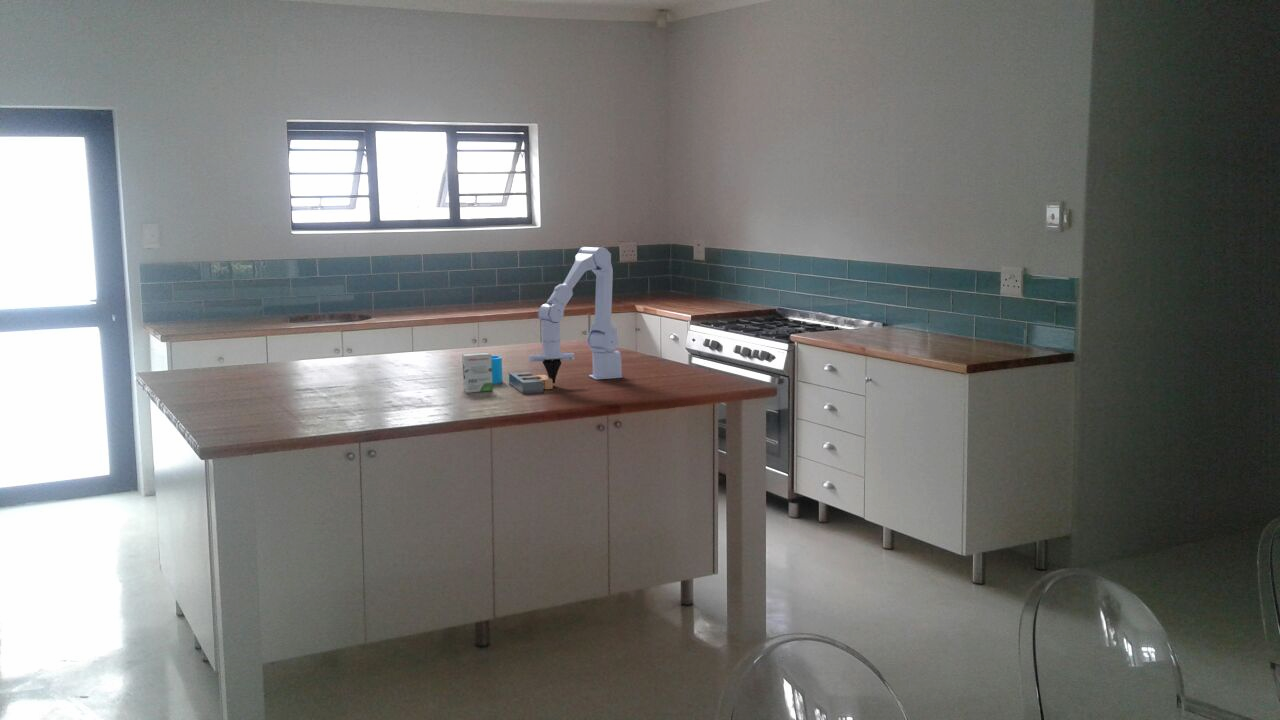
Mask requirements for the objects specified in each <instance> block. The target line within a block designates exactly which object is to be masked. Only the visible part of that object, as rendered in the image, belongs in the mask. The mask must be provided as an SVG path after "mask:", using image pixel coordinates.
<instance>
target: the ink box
mask: <svg viewBox="0 0 1280 720" xmlns="http://www.w3.org/2000/svg"><path fill="white" fill-rule="evenodd" d="M491 356H492V354H490V353H488V352H482V353H464V354H461V358H462V359H461V360H462V363H461V364H462V381H463V384H462V385H463V392H465V393H467V394H468V393H479V392H490V391H493V390H494V386H493V385H494V384H493V382H492V361H491Z"/></svg>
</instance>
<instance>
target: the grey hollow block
mask: <svg viewBox="0 0 1280 720" xmlns="http://www.w3.org/2000/svg"><path fill="white" fill-rule="evenodd" d="M508 380H509V382H508V384H509V385H510V386H512V387H513V388H514V389H516V390H517V391H519V392H520V393H521V394H522V395H524V394H525V395H526V394H537V393H544V389H543V381H542V380H540V379H537V377H536V375H532V373H531V372H530V371H521V372H518V371H517V372H508Z"/></svg>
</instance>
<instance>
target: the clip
mask: <svg viewBox="0 0 1280 720" xmlns="http://www.w3.org/2000/svg"><path fill="white" fill-rule="evenodd" d="M535 376H536V377H537V379H540V380H542V381H543V390H550V389H552V390H553V389H554V388H553V385H554V383H553V381H552V379H551V378H549V376H548V375H546V374H537V375H535Z"/></svg>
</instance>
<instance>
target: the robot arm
mask: <svg viewBox="0 0 1280 720" xmlns="http://www.w3.org/2000/svg"><path fill="white" fill-rule="evenodd" d="M574 258H575V259H574V263H573V264H572V266H571V268H570V270H569V272H568V274H567V276H566V277H565V279H564V281H563V283H559V284H558V285H556V286H555V287H554V288H553V292H552V294H551V295H550V296H549V298H548V299H547V300H546V303H544V304H542V305H541V306H540V308H539V309H538V312H537V317H538V319H539V320H540V325H541V338H542V342H541V343H542V344H541V345H542V353H540V354H539V353H538V354H532V355H531V354H529V355H528V362H529V363H534V362H535V363H536V362H542V365H543V366H544V368H545V371H546V373H547V376H548V377H549V378H551V379H552V381H553V384H555V383H556V378H557V375H558V371H559V369H560V367H561V365H562V361H565V360H570V361H571V360H573V361H574V360H575V352H561V324H560V323H561V320H562V319H563V318H564V315H565V313H564V311H565V307H566V306H567V305H568V302H569V301H570V300H571V298H572V297H573V296H574V293H573V289H574V287H575V286H576V284H577V283H578V282H579V281H580V279H581V278H582V277H583V275H584V274H585V272H587V271H591V272H592V273H594V275H595V277H596V278H595V300H594V301H595V303H594V321H593V323H592V325H590V327H589V333H588V334H587V341H586V342H587V345H588V347H589V348H590V351H591V352H592V374H589V375H588V377H590V378H592V379H594V380H606V379H607V380H609V379H610V380H611V379H620V378H623V376H622V373H623V372H622V371H623V369H622V368H623V367H622V355H621V352H620V351H619V350H616V349H617V348H618V345H619V337H618V334H617V332H618V331H617V328H616V326H615V325H614V324H613V323H612V311H613V310H612V308H613V306H612V305H613V277H614V275H613V273H614V270H613V265H612V253H611V252H610V251H609V250H608V249H607V248H606V247H603V246H601V247H600V246H599V247H595V246H582V247H581V248H579V250H578V252H577V254H575V256H574Z"/></svg>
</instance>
